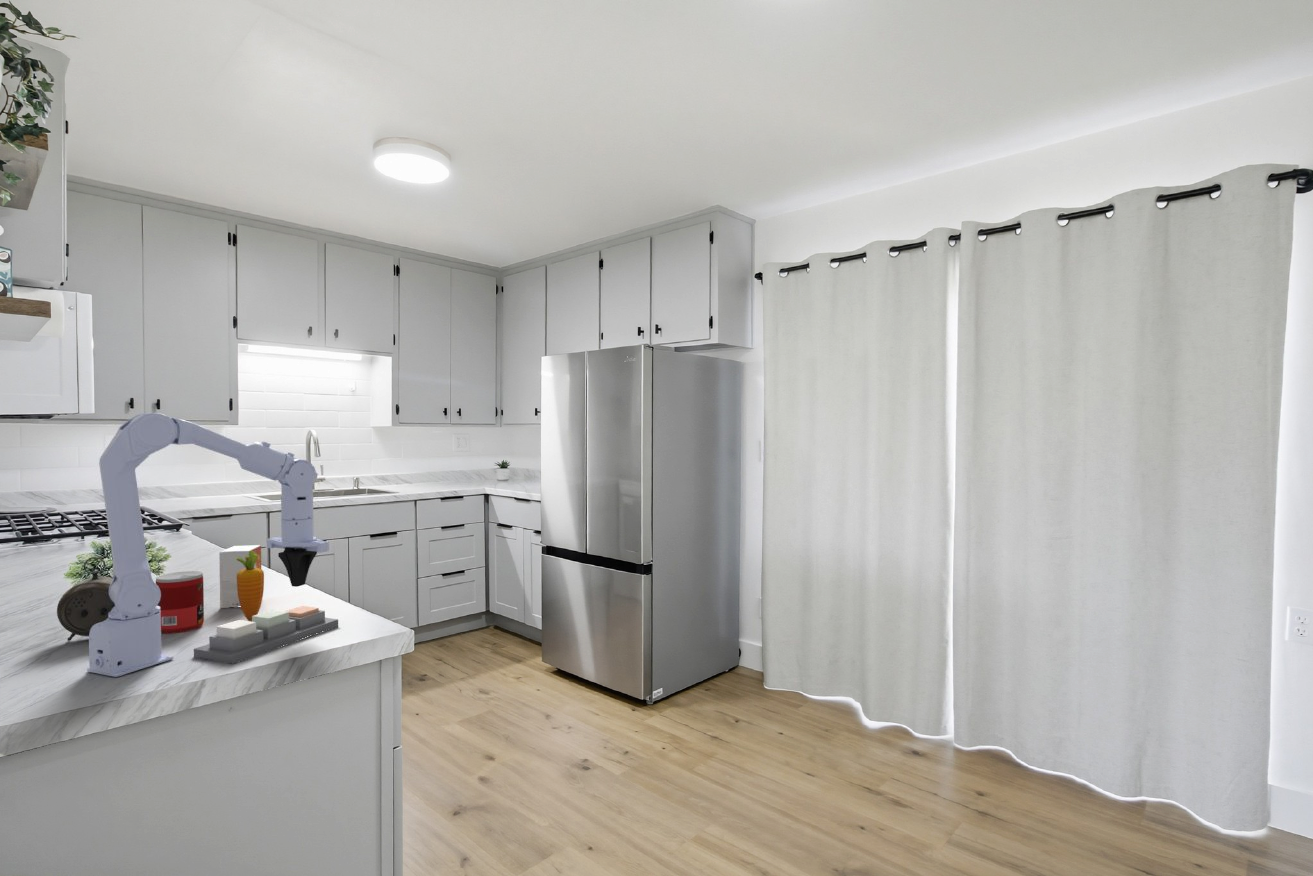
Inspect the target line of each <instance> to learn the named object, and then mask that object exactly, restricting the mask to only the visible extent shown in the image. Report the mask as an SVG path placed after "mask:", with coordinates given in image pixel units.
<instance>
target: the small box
mask: <svg viewBox="0 0 1313 876" xmlns="http://www.w3.org/2000/svg"><path fill="white" fill-rule="evenodd" d="M249 551H254V554H257V555H258V557H257V559H256V562H255V564H254V568H259V569H262V545H261V544H255V545H250V544H249V545H233V546H231V547H228V548H225V549H224V550H222V551H220V552H219V605H220V606H219V609H230V608H229V607H234V608H239V607H238V606H240V602H239V598H238V591H237V573H238V572H239V571H241V570H243V569H246V568H245V566H244V565H243V564H242V563H241V562H240V561H238V560H236V559H237V558H238V557H239V558H242V559H243V560H244V561H246V559H245V556H248V557H249V559H250V556H249Z"/></svg>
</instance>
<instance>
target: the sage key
mask: <svg viewBox="0 0 1313 876" xmlns="http://www.w3.org/2000/svg"><path fill="white" fill-rule="evenodd" d="M252 622H256V626H259V627H265V628H270V627H273V626H276V625H279V624H282V623H286V622H289V612H284V611H282V610H276V609H272V610H268V611H265V612H261V613H258V614H257V615H254V616H252Z"/></svg>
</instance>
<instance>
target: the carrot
mask: <svg viewBox="0 0 1313 876" xmlns="http://www.w3.org/2000/svg"><path fill="white" fill-rule="evenodd" d="M249 556H250V559H249V557H248V556H245V559H246V561H244V560H243V559H242V558H239V557H238V558H237V559H236V560H238V561H240V562H241V563H242V564H243V565H244V566H245V568H246V569H243V570H241V571H239V572H238V573H237V591H238V598H239V602H240V606H241V607H240V609H241V611H242V613H243V615H244V617H245V618H246V621H251V622H252V616H254V615H257V614H259V611H260V609H261V606H262V603H263V597H264V588H265V587H264V585H265V571H264V570H263V569H262V568H261V569H259V568H254V564H255V562H256V559H257V557H258V555H257V554H254V551H249Z"/></svg>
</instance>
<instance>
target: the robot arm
mask: <svg viewBox="0 0 1313 876" xmlns="http://www.w3.org/2000/svg"><path fill="white" fill-rule="evenodd" d="M118 427H119V428H118V429H117V431H116V433H115V435H114V436H113V438H112V439H111V441H110V442H109V444H108V445H107V447H106V448H105V449H104V451H103V453H102V454H101V456H100V457H99V463H98V465H99V472H100V478H101V487H102V494H103V500H104V507H105V514H106V515H105V516H106V521H107V527H108V529H107V530H108V537H109V543H110V549H111V557H112V578H113V581H112V583H111V585H110V587H109V596H110V599H111V600H112V601H113V602H114V603H115V606H114V607H113V609H112V610H111V612H109V613H108V617H109V618H107V619H106V620H104V621H103V622H100V623H97V624H95V625H93V626H92V628H91V630H90V633H89V637H88V657H89V658H88V661H89V662H88V663H89V665H88V666H89V667H88V668H86V671H87V672H89V673H95V674H99V675H102V676H103V675H104V676H109V677H113V678H117V677H121V676H124V675H127V674H129V673H130V674H131V673H132V672H137V671H139V670H142V669H146V668H149V667H152V666H156V665H158V664H161V663H164V662H167V661H171V660H173V659H174V656H173V655H171V654H163V653H162V633H161V611H160V610H161V609H160V606H157V605H158V603H159V601H160V598H161V591H160V589H159V587H158V586H157V585H156V581H154V579H153V577H152V571H151V566H150V564H149V560H148V555H147V548H146V541H145V534H144V526H143V520H142V517H143V516H142V511H141V503H140V497H139V490H138V489H139V488H138V482H137V475H136V469H137V468H138V467H139V466H140V465H141V464H142V463H143V462H145V460H147V458H149V456H151V455H152V454H154V453H156V452H158V451H161V450H163V449H165V448H166V447H168V446H170V445H179V446H180V445H181V446H182V445H195V446H198V447H201V448H203V449H206V450H209V451H212V452H215V453H218V454H221V455H224V456H226V457H229V458H233V459H235V460H237V461H238V464H239V466H240V468H241V469H242V470H245V471H247V472H251V473H253V474H255V475H258V476H261V477H264V478H265V479H269V480H271V481H274V482H275V481H278V483H280V484H281V497H280V507H281V508H280V514H281V517H280V518H281V520H280V521H281V528H280V529H281V537H276V536H275V537H271V538H267V540H266V541H267V549H284V550H283V551H281V552H278V558H279V559H280V560H281V562H282V563H283V565H284V568H285V570H286V572H287V575H288V578H289V582H290V585H291V587H297V588H298V587H301V586H304V585H305V584H306V583H307V582H306V580H307V578H308V573H309V570H310V567H311V565H312V563H313V561H314V559H315V557H316V556H317V554H318V553H320V554H322V553H325V552H329V551H330V542H329V541H327V540H321V539H319V538H317V537H316V536H314V535H315V534H314V493H313V491H314V490H313V489H314V487H313V485H314V484H315V483H316V481H317V478H318V476H319V474H318V472H317V471H316V467H315V466H314V465H313V464H312V463H311V462H310V461H308V460H305V459H300V458H299V459H298V458H296V457H294V456H295V454H294V453H292V452H287V453H286V452H282V451H280V450H278V449H277V448H273V447H271V443H269V442H267V441H262V442H258V441H253V442H251V443H247V444H244V443H242V442H239V441H238V440H236V439H232V438H230V437H228V436H225V435H224V434H221V433H219V432H216V431H214V430H211V429H209V428H208V427H207V428H206V427H204V426H202V425H200V424H197V423H196V422H191V421H188V420H184V419H182V418H181V419H180V418H177V417H170V416H168V415H166V414H163V413H159V412H149V413H148V412H147V413H140V414H136V415H134V416H133V417H132V418H130V419H129V420H127V421H126V422H124V423H123V424H122V425H120V426H118Z"/></svg>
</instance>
